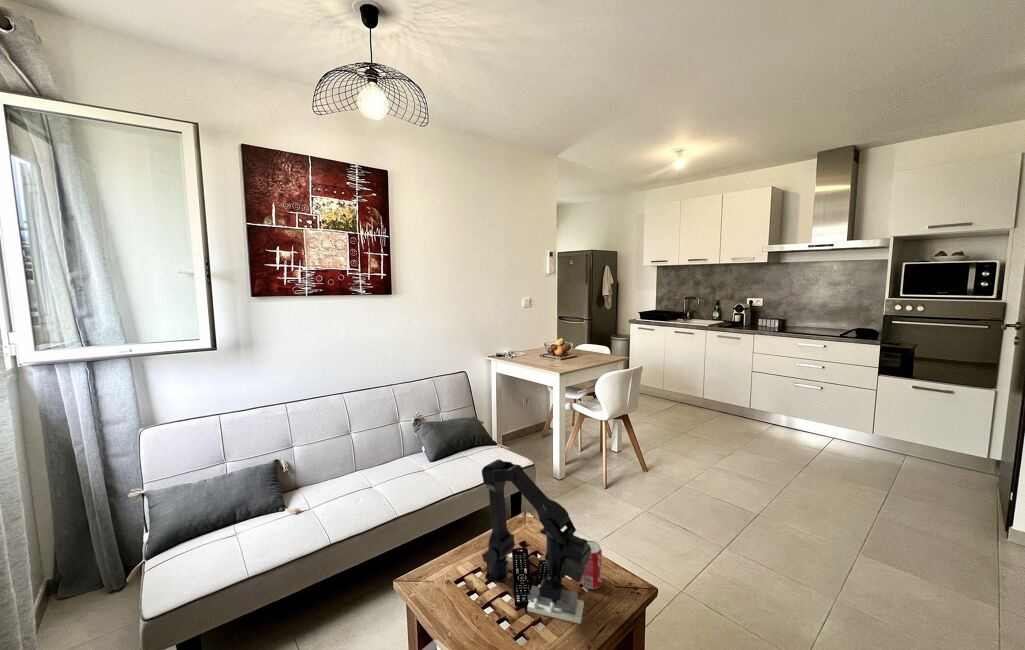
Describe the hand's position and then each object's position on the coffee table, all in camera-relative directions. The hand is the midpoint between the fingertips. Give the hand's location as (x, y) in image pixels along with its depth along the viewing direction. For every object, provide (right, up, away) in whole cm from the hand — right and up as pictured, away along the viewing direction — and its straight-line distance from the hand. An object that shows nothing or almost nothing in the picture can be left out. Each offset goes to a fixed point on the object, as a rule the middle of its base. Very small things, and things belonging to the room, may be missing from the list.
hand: (555, 597), depth 124 cm
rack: (0, -3, 0) cm, 4 cm away
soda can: (+13, -2, +11) cm, 17 cm away
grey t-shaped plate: (0, -2, 0) cm, 2 cm away
